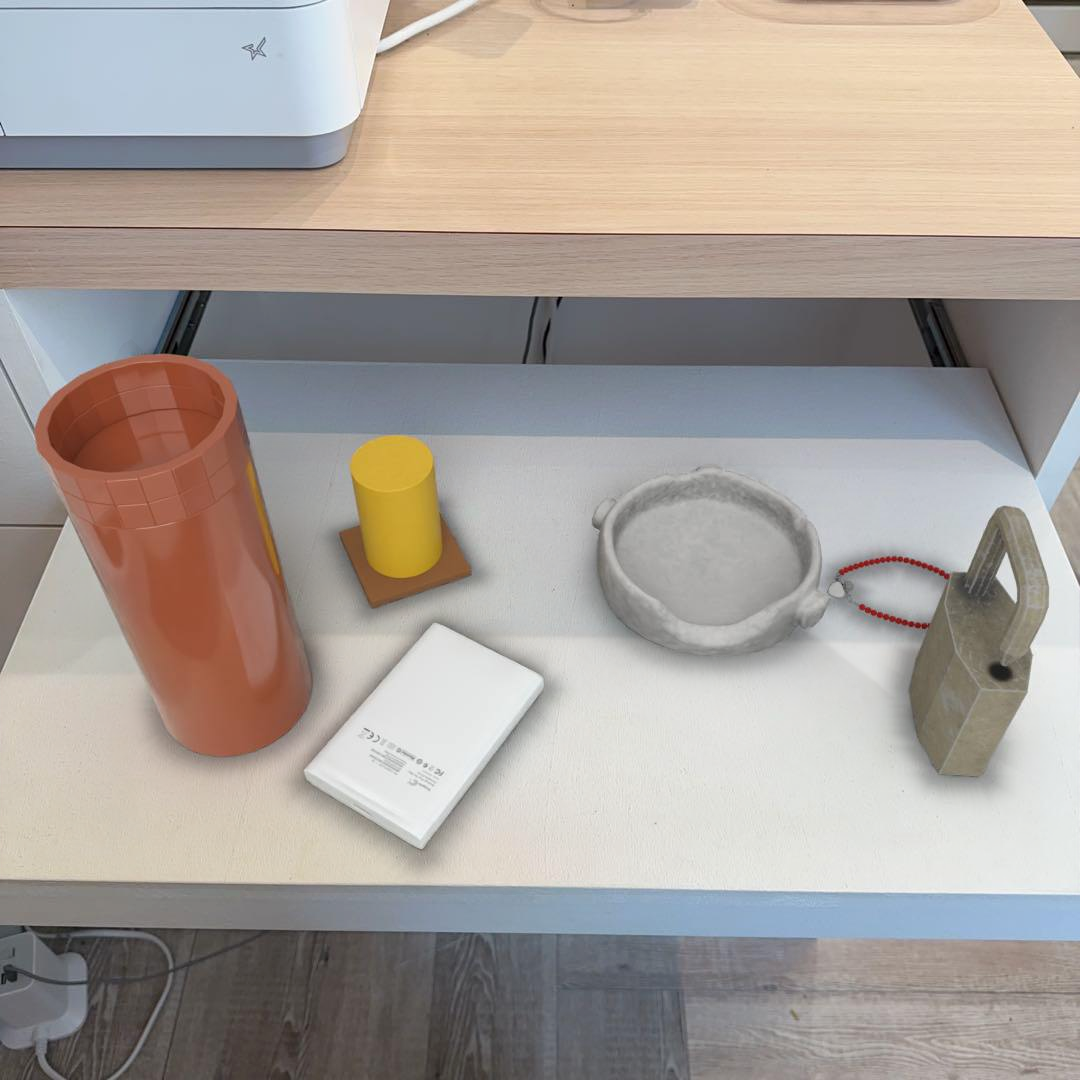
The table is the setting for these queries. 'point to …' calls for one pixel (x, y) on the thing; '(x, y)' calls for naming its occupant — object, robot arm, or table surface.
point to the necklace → (844, 586)
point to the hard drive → (425, 733)
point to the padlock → (980, 649)
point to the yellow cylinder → (397, 505)
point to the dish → (709, 562)
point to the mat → (391, 589)
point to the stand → (181, 545)
